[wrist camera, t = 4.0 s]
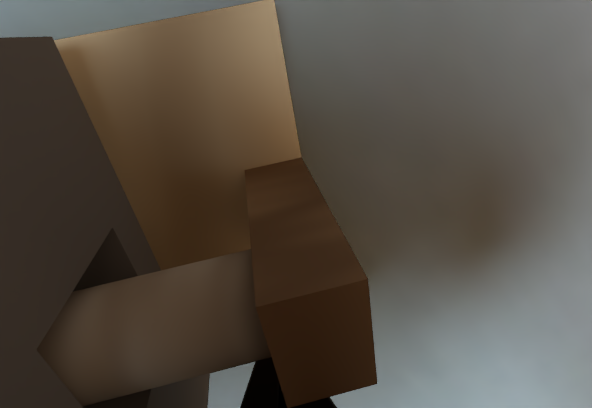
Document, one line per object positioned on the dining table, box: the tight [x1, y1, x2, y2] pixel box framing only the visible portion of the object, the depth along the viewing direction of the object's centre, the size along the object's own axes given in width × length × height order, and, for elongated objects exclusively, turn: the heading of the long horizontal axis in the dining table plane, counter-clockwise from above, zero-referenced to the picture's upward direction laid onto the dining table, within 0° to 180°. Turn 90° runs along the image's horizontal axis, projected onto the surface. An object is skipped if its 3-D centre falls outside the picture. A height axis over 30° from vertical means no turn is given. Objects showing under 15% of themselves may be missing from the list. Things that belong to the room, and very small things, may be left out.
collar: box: [0, 37, 210, 408], centre depth 6 cm, size 3×10×5 cm, turn 10°
